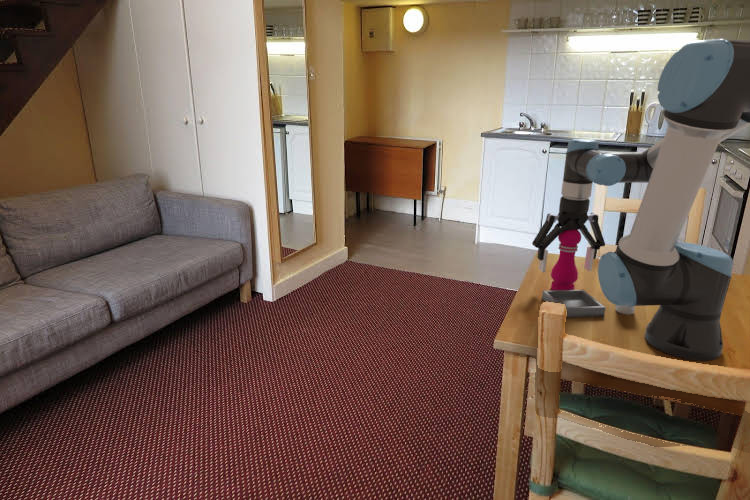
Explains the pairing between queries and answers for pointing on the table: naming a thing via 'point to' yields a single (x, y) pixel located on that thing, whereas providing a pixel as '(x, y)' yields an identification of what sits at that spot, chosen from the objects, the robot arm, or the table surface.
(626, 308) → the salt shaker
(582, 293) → the tray
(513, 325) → the table surface
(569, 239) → the pepper mill
